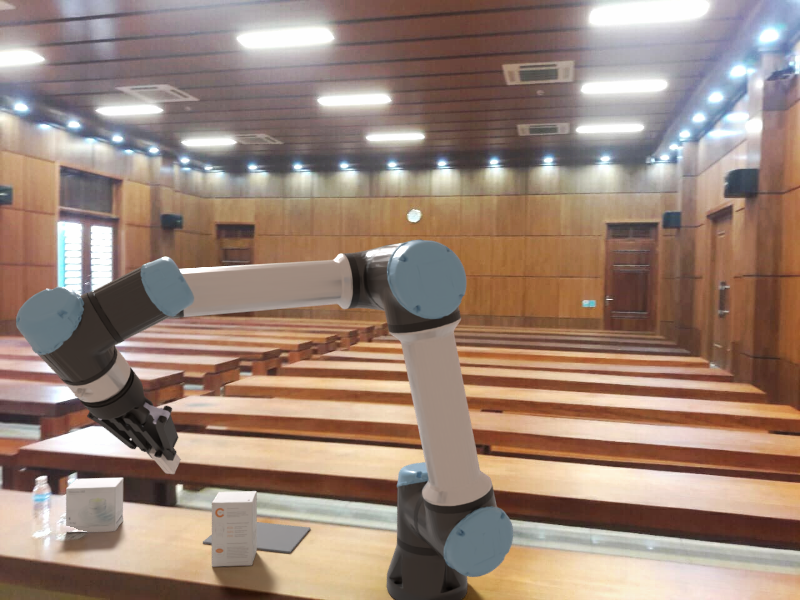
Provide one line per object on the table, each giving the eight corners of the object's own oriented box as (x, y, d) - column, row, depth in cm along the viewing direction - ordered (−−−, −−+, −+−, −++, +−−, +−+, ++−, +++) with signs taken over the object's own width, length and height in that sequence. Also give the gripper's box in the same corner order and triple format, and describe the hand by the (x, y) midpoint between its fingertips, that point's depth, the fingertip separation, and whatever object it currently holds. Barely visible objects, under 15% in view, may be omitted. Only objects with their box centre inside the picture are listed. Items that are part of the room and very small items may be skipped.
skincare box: (64, 534, 129) (65, 487, 129) (76, 522, 136) (76, 478, 135) (115, 532, 131) (115, 485, 131) (123, 520, 137) (124, 476, 137)
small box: (256, 551, 123) (257, 490, 122) (252, 566, 116) (253, 501, 116) (217, 552, 122) (218, 491, 121) (210, 567, 115) (211, 502, 115)
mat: (310, 529, 134) (310, 527, 134) (290, 553, 122) (290, 551, 122) (230, 520, 138) (230, 519, 138) (202, 543, 126) (202, 541, 126)
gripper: (48, 402, 79) (127, 483, 95) (134, 408, 76) (200, 491, 93) (77, 358, 84) (147, 443, 101) (159, 362, 81) (217, 448, 98)
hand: (173, 466), depth 97 cm, fingers closed
